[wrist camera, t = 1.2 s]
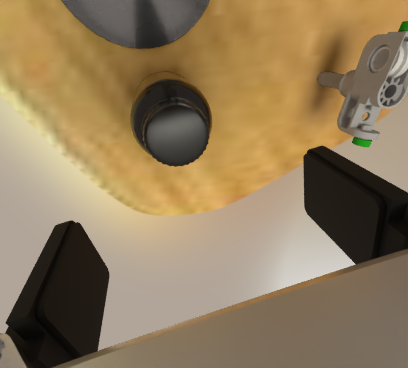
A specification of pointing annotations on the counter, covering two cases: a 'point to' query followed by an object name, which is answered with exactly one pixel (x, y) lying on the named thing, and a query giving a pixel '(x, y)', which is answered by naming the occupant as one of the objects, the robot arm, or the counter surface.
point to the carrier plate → (138, 19)
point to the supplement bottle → (171, 119)
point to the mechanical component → (372, 84)
